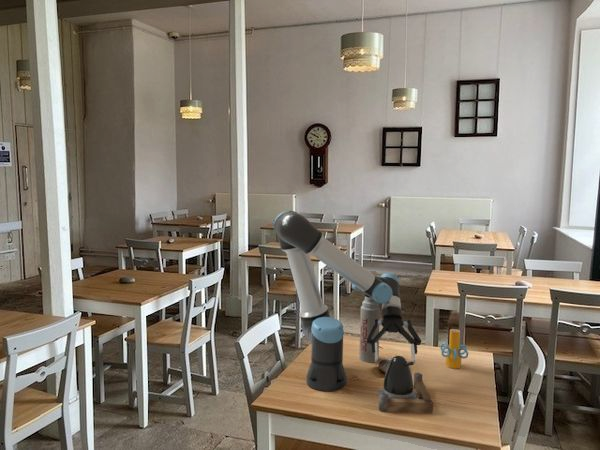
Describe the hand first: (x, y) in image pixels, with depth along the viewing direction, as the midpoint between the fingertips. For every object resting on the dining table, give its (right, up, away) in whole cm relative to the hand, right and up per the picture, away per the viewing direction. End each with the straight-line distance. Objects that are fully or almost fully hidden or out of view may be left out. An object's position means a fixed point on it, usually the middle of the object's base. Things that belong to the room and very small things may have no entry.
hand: (395, 361), depth 182 cm
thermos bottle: (-6, -7, +28) cm, 29 cm away
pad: (-1, -11, -9) cm, 14 cm away
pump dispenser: (-1, -11, -9) cm, 14 cm away
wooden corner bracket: (+1, -11, -8) cm, 14 cm away
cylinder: (+28, -8, +21) cm, 36 cm away
